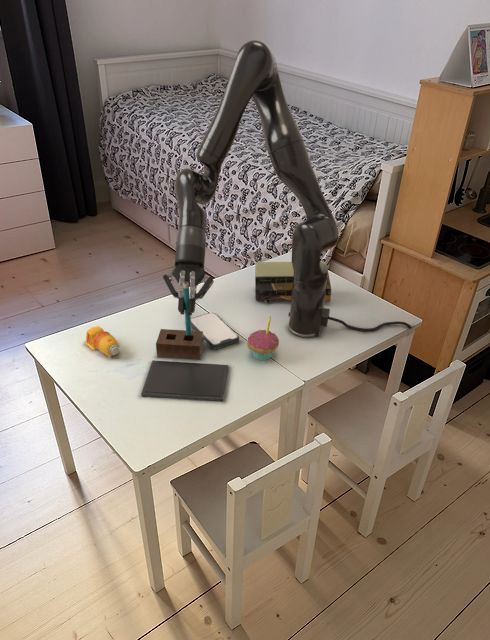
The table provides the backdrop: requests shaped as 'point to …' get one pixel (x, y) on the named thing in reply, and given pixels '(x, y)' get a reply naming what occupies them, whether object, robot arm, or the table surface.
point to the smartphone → (214, 330)
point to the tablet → (185, 380)
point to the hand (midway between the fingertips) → (186, 313)
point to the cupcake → (263, 343)
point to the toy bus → (278, 282)
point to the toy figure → (101, 341)
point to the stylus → (186, 307)
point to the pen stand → (179, 344)
